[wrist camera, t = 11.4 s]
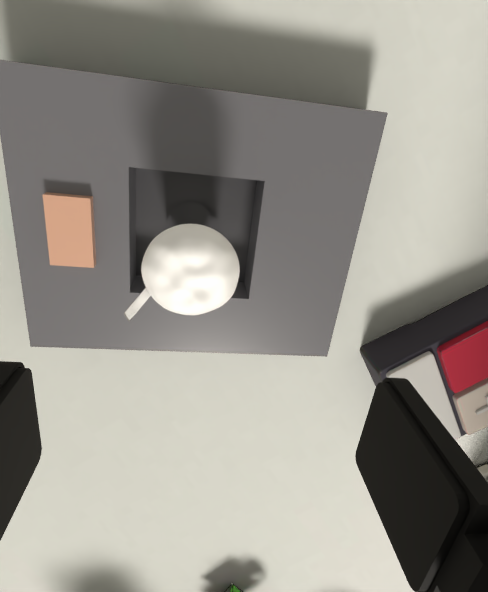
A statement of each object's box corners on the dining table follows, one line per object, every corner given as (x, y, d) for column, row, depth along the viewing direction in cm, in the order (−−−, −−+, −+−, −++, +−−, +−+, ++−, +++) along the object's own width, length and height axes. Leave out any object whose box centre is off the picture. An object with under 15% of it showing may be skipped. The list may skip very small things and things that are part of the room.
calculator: (588, 384, 32) (421, 467, 33) (542, 355, 36) (395, 429, 37) (577, 277, 27) (382, 378, 28) (526, 257, 31) (357, 346, 32)
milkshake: (132, 212, 24) (96, 273, 16) (209, 178, 24) (218, 219, 15) (165, 273, 26) (151, 357, 18) (237, 242, 26) (259, 311, 17)
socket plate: (365, 112, 24) (392, 112, 20) (315, 334, 30) (329, 361, 27) (16, 64, 21) (-17, 56, 17) (46, 323, 27) (26, 351, 24)
